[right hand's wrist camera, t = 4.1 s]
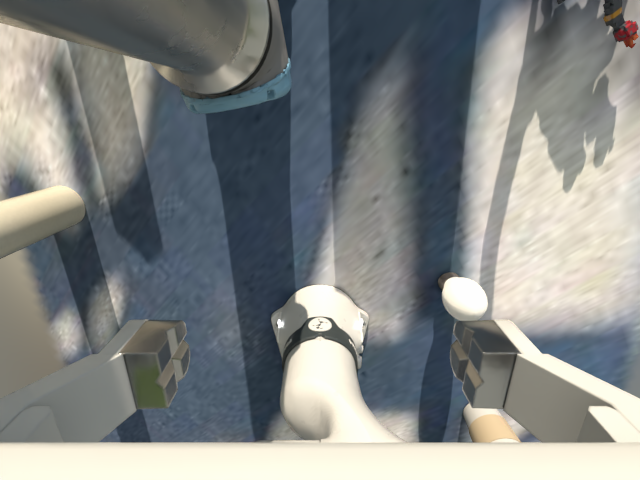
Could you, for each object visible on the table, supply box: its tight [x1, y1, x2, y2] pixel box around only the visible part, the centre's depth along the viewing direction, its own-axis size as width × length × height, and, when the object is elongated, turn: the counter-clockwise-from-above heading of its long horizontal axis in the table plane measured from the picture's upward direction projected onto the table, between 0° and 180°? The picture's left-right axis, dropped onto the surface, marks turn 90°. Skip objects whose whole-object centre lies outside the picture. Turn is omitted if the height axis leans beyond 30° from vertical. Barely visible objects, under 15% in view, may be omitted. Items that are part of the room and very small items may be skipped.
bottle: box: [0, 186, 85, 259], centre depth 48 cm, size 7×7×22 cm
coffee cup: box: [463, 403, 521, 443], centre depth 67 cm, size 9×9×15 cm
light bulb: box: [438, 273, 488, 321], centre depth 58 cm, size 7×7×11 cm
